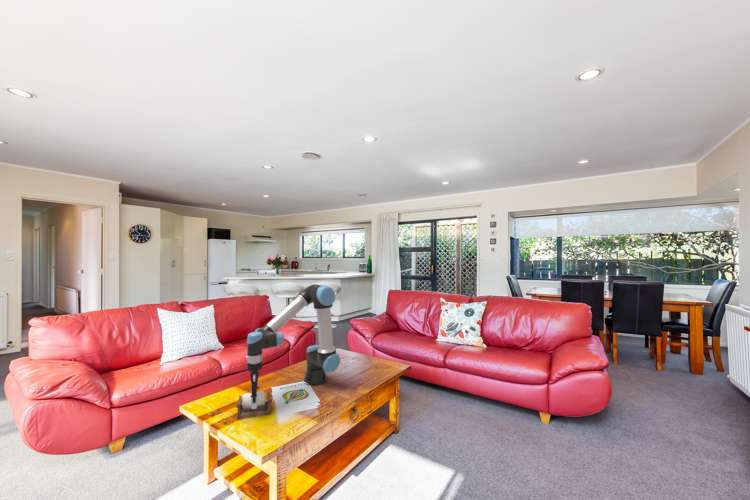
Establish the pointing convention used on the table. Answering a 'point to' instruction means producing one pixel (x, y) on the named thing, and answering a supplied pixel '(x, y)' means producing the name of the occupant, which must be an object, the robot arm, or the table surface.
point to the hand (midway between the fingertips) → (254, 405)
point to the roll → (248, 399)
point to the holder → (253, 412)
